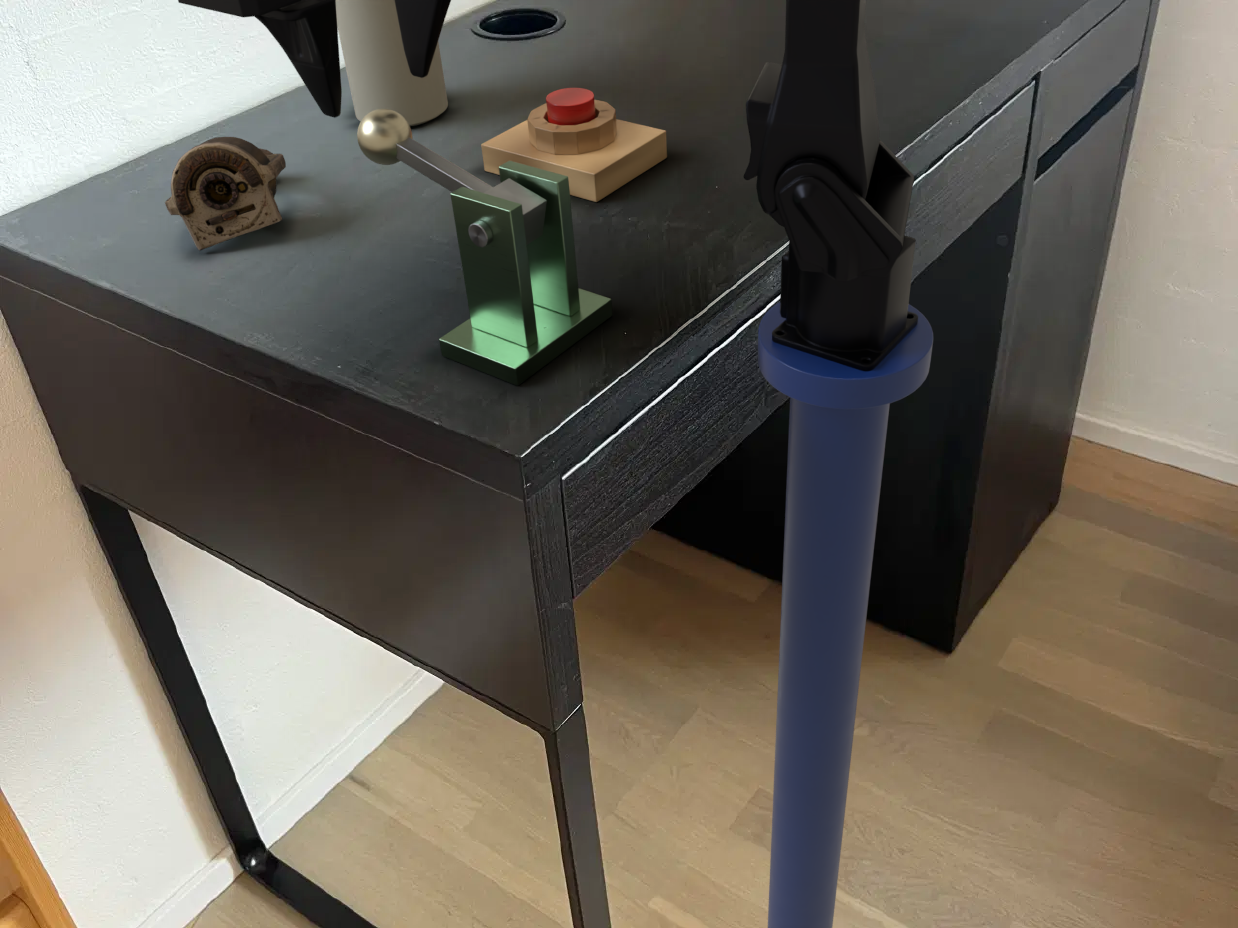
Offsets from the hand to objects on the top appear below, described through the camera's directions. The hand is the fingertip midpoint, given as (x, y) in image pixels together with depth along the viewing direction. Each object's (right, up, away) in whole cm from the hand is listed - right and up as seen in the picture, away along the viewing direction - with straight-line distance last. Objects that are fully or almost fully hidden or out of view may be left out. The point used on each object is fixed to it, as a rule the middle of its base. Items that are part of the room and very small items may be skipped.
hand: (377, 95), depth 66 cm
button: (+10, +5, +20) cm, 23 cm away
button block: (+11, +2, +22) cm, 25 cm away
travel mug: (-5, +9, +33) cm, 35 cm away
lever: (+4, -6, +1) cm, 7 cm away
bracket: (+8, -14, +3) cm, 16 cm away
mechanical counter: (-14, -3, +19) cm, 24 cm away
